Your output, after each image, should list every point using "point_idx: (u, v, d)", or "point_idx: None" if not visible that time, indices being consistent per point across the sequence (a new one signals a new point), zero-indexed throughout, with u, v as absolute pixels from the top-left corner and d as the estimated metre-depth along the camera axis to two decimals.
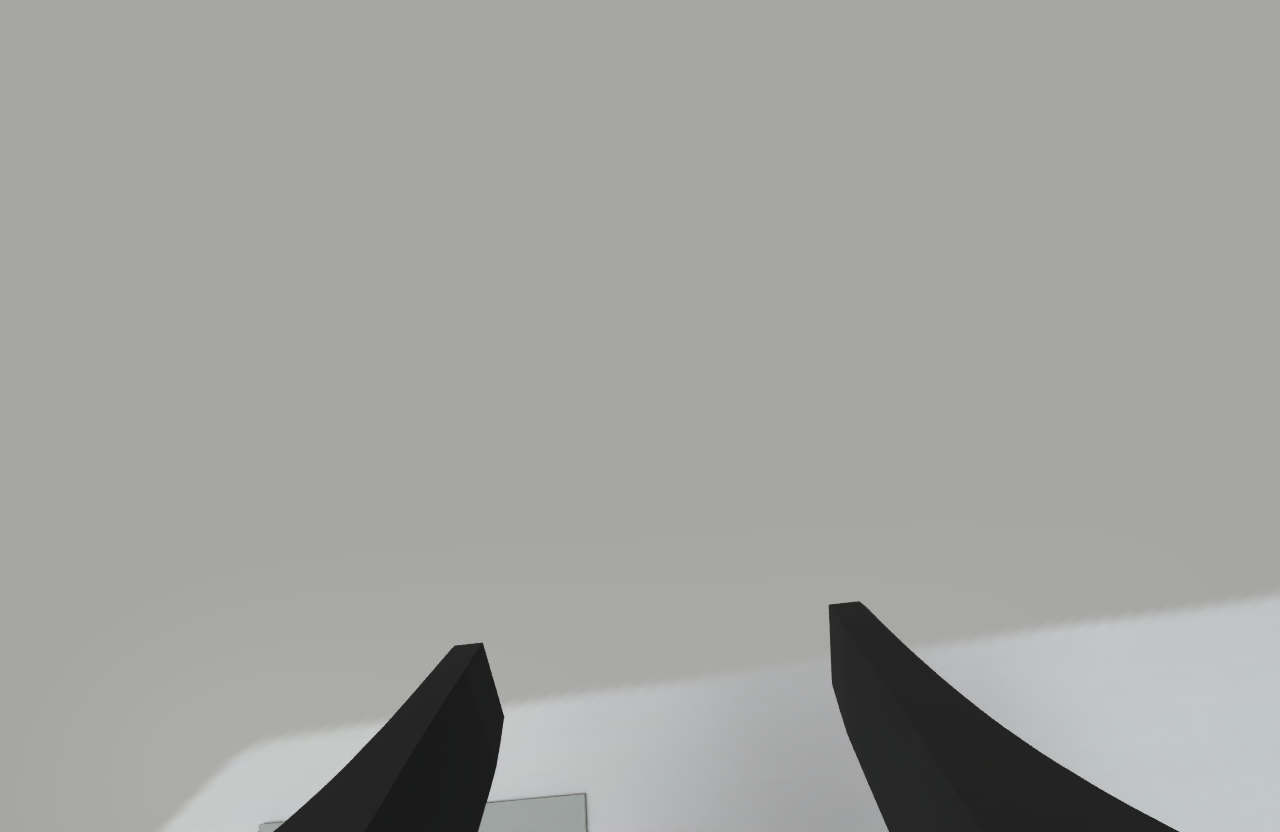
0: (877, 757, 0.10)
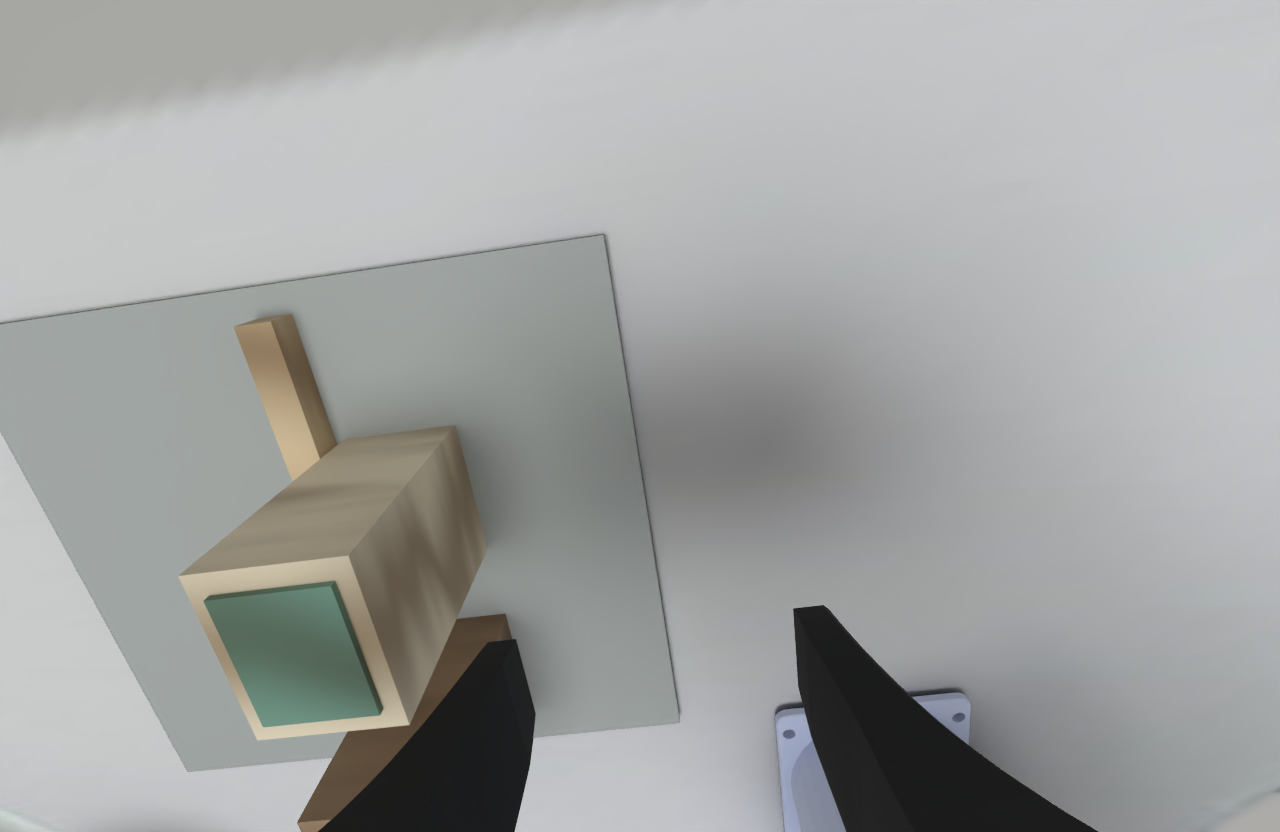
0: (836, 761, 0.10)
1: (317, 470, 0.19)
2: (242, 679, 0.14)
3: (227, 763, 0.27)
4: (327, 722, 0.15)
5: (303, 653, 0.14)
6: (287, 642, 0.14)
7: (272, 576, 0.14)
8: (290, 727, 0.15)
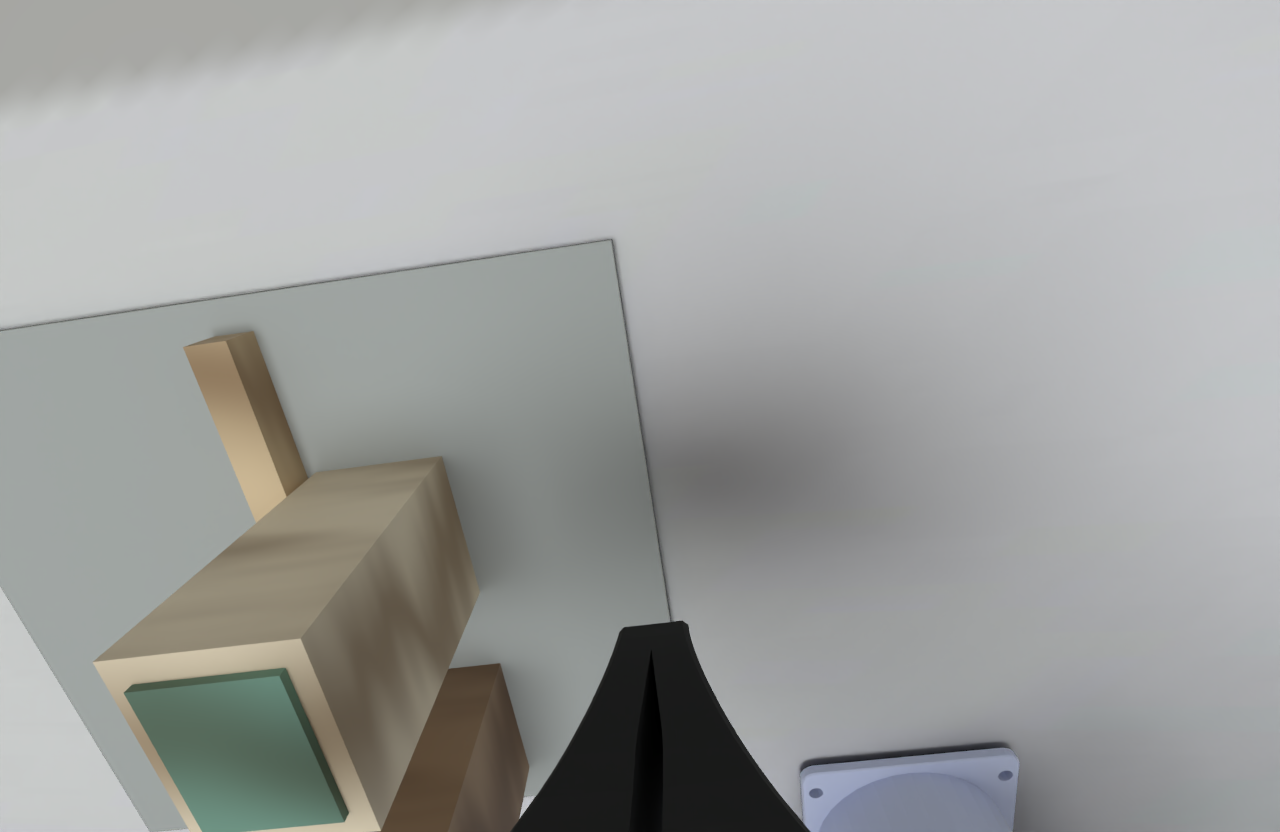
0: None
1: (280, 513, 0.16)
2: (176, 782, 0.12)
3: None
4: (282, 828, 0.12)
5: (248, 752, 0.12)
6: (229, 740, 0.11)
7: (209, 662, 0.11)
8: None
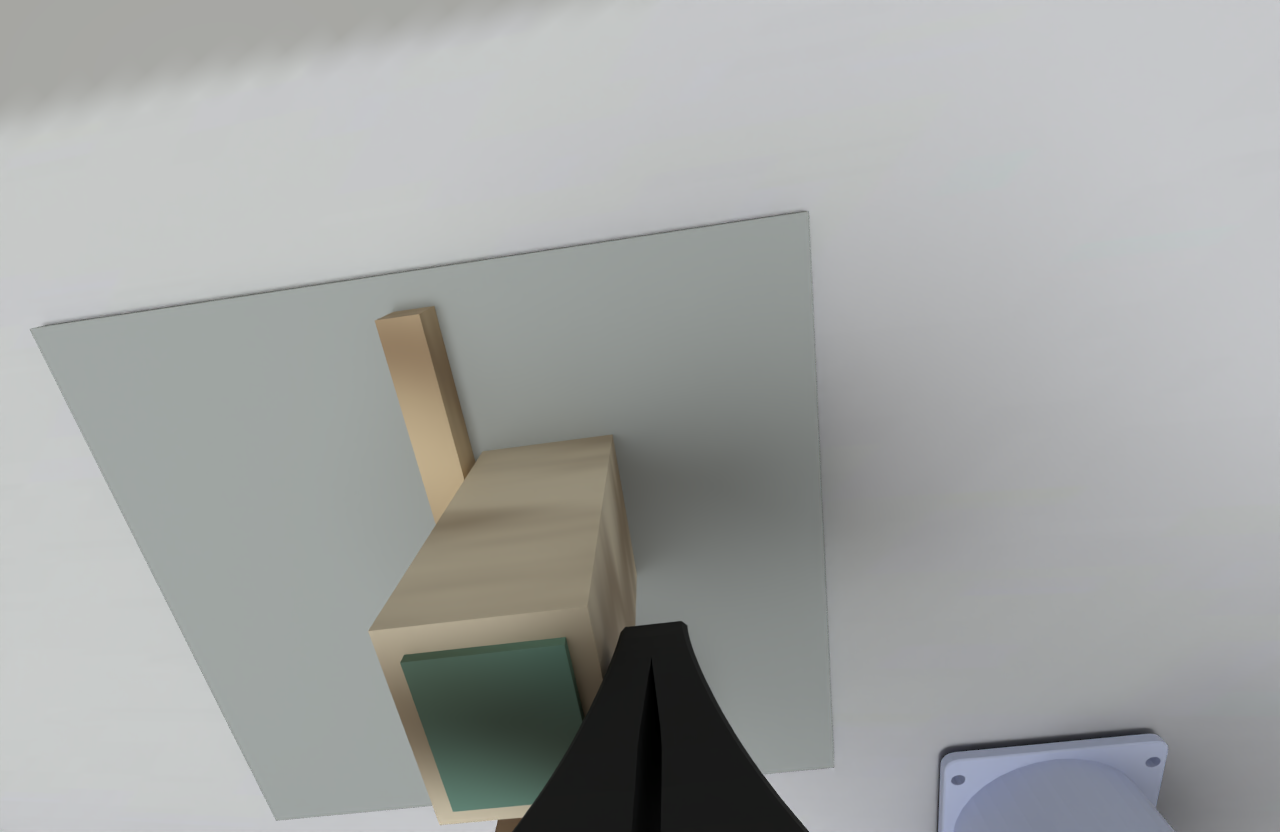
0: None
1: (472, 489, 0.16)
2: (436, 756, 0.12)
3: (321, 811, 0.24)
4: (530, 805, 0.12)
5: (516, 725, 0.11)
6: (498, 712, 0.11)
7: (487, 631, 0.11)
8: (483, 810, 0.12)
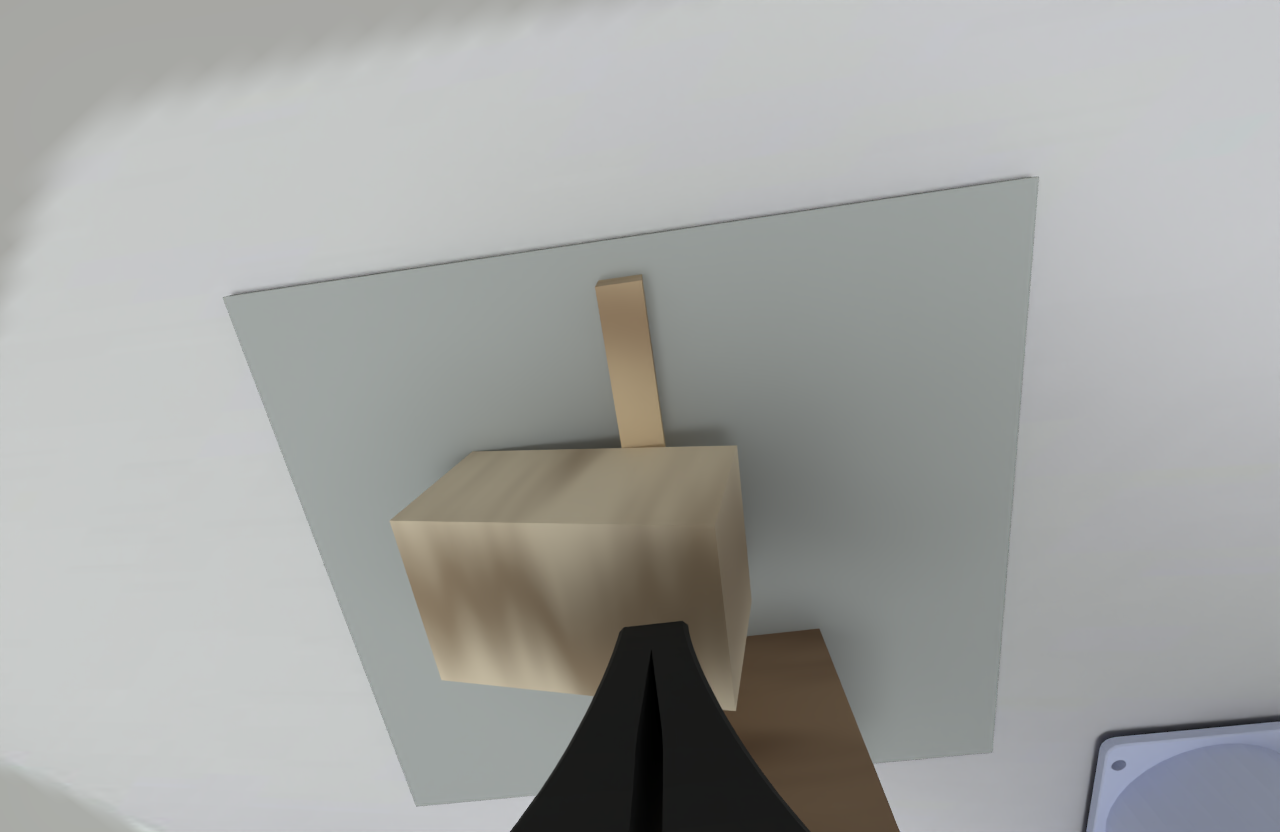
0: None
1: (638, 454, 0.16)
2: None
3: (463, 796, 0.23)
4: None
5: None
6: None
7: None
8: None
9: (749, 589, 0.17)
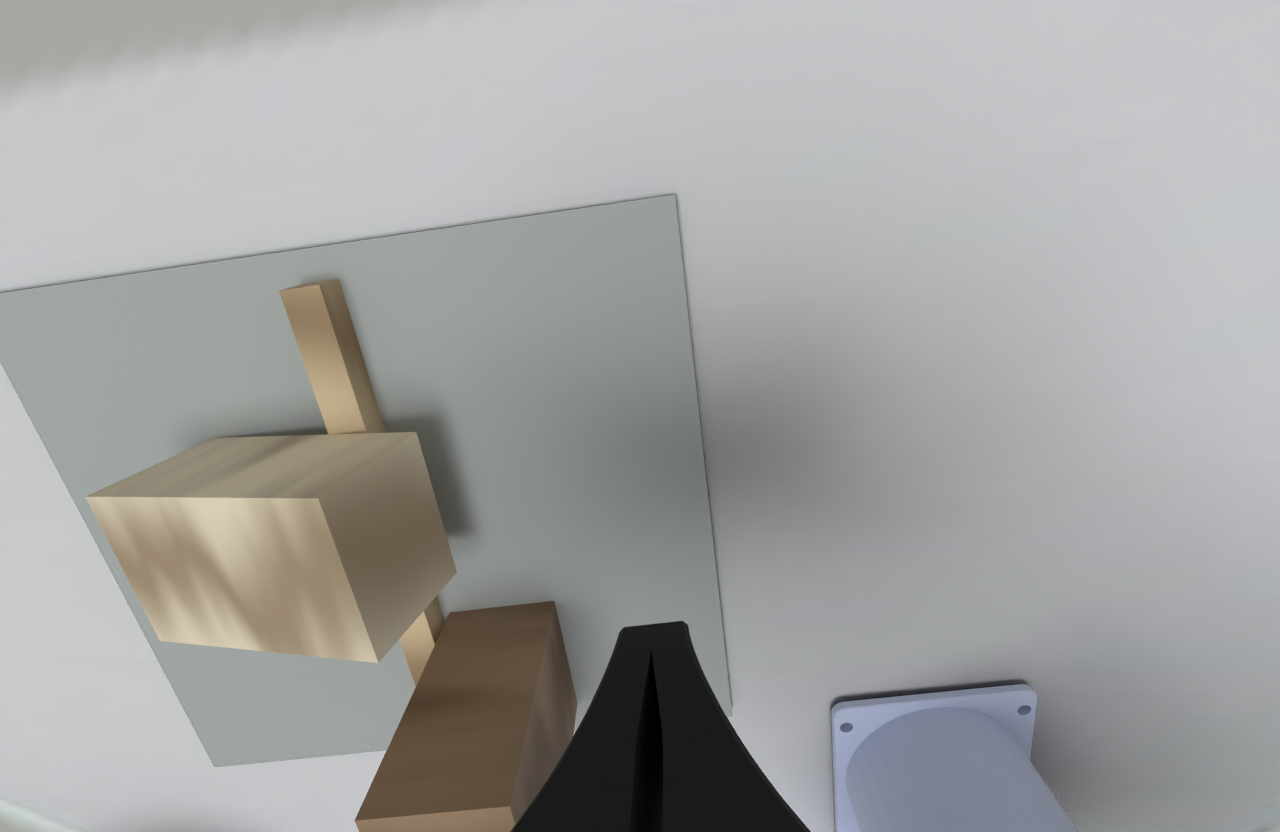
0: None
1: (334, 439, 0.18)
2: None
3: (256, 757, 0.25)
4: None
5: None
6: None
7: None
8: None
9: (449, 561, 0.19)
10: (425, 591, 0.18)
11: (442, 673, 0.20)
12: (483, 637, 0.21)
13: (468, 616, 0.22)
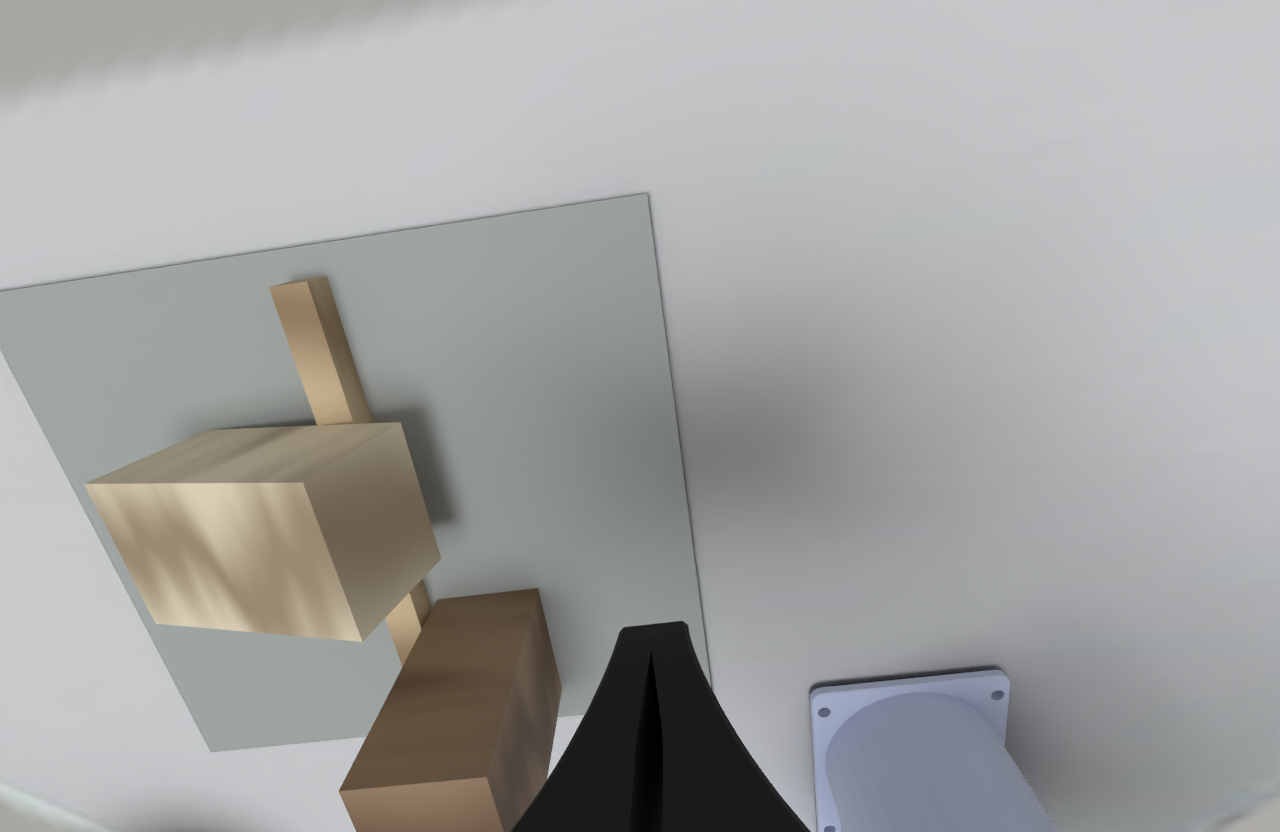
0: None
1: (322, 430, 0.19)
2: None
3: (251, 743, 0.26)
4: None
5: None
6: None
7: None
8: None
9: (433, 548, 0.20)
10: (409, 575, 0.19)
11: (427, 656, 0.20)
12: (468, 622, 0.22)
13: (454, 603, 0.23)
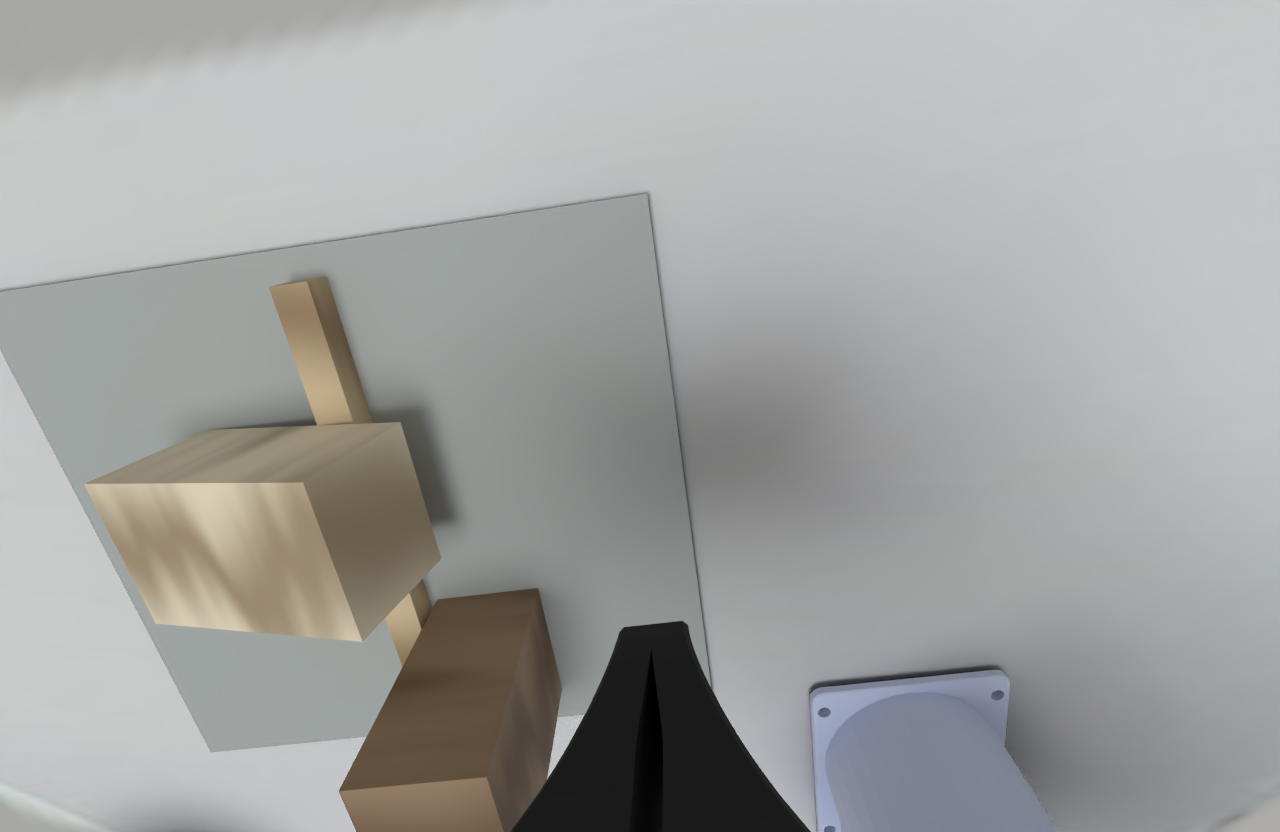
0: None
1: (322, 430, 0.19)
2: None
3: (251, 743, 0.26)
4: None
5: None
6: None
7: None
8: None
9: (433, 548, 0.20)
10: (409, 575, 0.19)
11: (427, 656, 0.20)
12: (468, 622, 0.22)
13: (454, 603, 0.23)
